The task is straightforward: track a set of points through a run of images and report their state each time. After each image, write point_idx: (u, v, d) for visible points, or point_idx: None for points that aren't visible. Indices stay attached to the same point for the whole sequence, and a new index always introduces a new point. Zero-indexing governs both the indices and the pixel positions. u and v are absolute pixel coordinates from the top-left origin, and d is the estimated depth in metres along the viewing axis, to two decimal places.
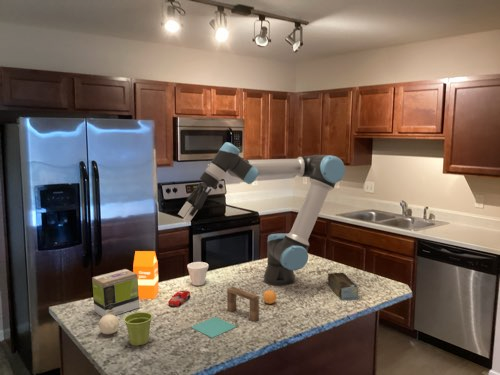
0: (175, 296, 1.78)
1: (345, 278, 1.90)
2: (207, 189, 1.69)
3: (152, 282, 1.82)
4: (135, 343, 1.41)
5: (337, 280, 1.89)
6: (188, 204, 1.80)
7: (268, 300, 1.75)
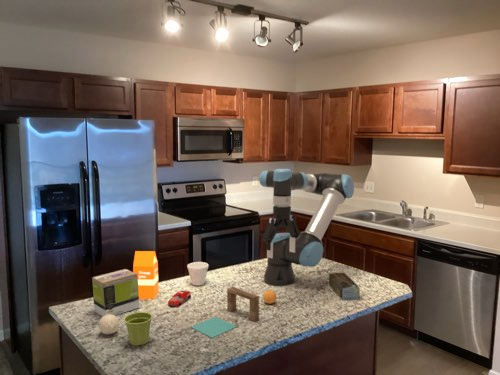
0: (175, 296, 1.78)
1: (346, 278, 1.90)
2: None
3: (152, 282, 1.82)
4: (135, 343, 1.41)
5: (338, 280, 1.89)
6: None
7: (268, 300, 1.75)
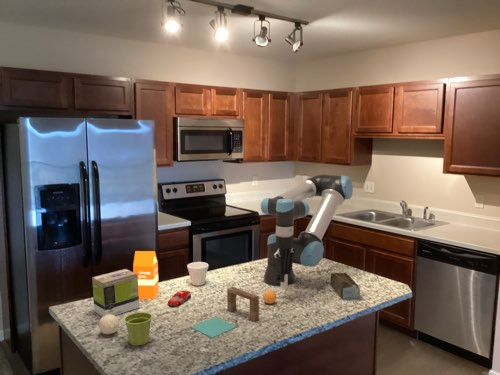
0: (175, 296, 1.78)
1: (347, 278, 1.90)
2: None
3: (152, 282, 1.82)
4: (135, 343, 1.41)
5: (339, 280, 1.89)
6: None
7: (268, 300, 1.75)
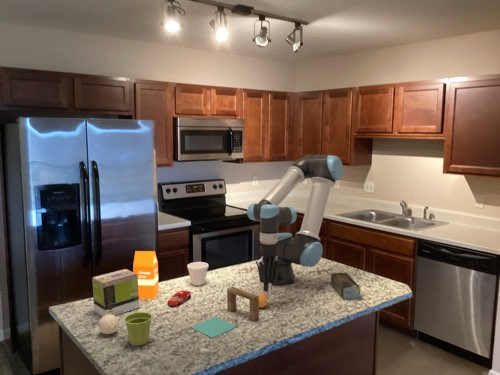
0: (175, 296, 1.78)
1: (348, 278, 1.90)
2: None
3: (152, 282, 1.82)
4: (135, 343, 1.41)
5: (340, 280, 1.89)
6: None
7: None
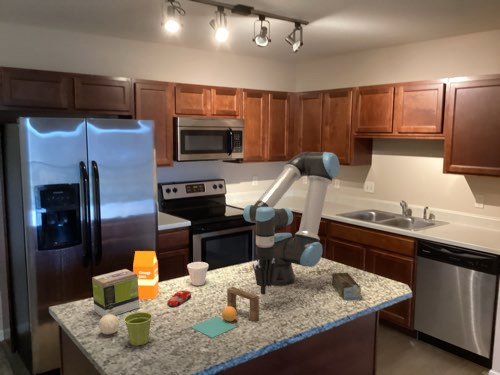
0: (174, 296, 1.78)
1: (349, 278, 1.90)
2: None
3: (152, 282, 1.82)
4: (135, 343, 1.41)
5: (340, 280, 1.89)
6: None
7: None
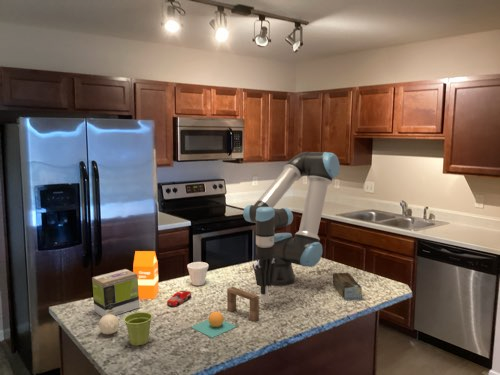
0: (174, 296, 1.78)
1: (349, 278, 1.90)
2: None
3: (152, 282, 1.82)
4: (135, 343, 1.41)
5: (341, 280, 1.89)
6: None
7: (218, 314, 1.55)
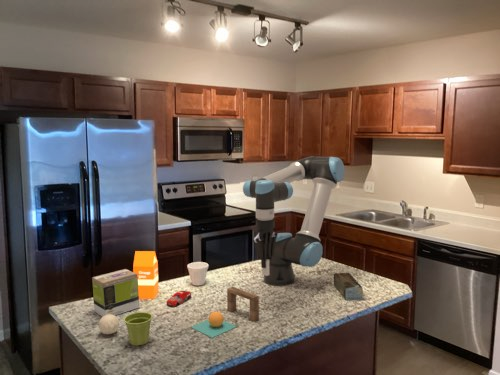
0: (174, 296, 1.78)
1: (350, 278, 1.90)
2: None
3: (152, 282, 1.82)
4: (135, 343, 1.41)
5: (342, 280, 1.88)
6: None
7: (218, 314, 1.55)
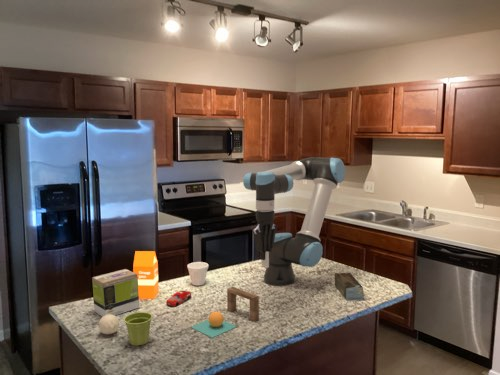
0: (174, 296, 1.78)
1: (351, 278, 1.90)
2: None
3: (152, 282, 1.82)
4: (135, 343, 1.41)
5: (343, 280, 1.88)
6: None
7: (218, 314, 1.55)
